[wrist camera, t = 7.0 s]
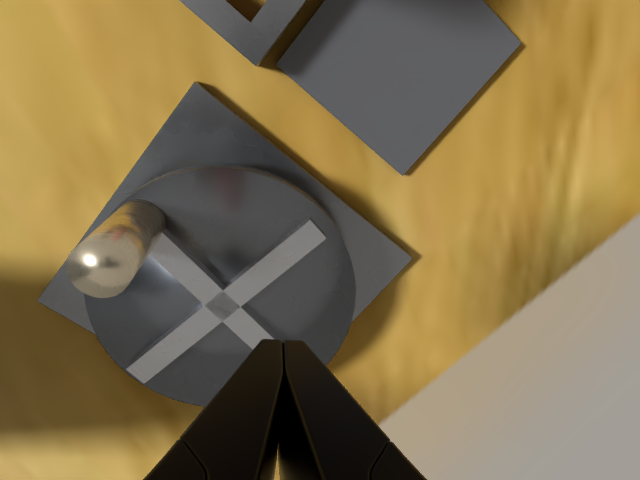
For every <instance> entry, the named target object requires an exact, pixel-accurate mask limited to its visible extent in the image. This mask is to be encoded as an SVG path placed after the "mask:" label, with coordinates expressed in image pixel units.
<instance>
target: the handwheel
mask: <svg viewBox="0 0 640 480" xmlns="http://www.w3.org/2000/svg"><path fill="white" fill-rule="evenodd" d="M66 270H67V274H68V277H69V279H70V281H71V282H72V284H73V285H74V286H75V287H76V288H77V289H78V290H80V291H81V292H83V293H84V299H85V305H86V310H87V313H88V316H89V319H90V323H91V325H92V327H93V330H94V332H95V334H96V336H97V338H98V340H99V341H100V343H101V344H102V346H103V347H104V349H105V350H106V352H107V353H108V354H109V355H110V357H111V358H112V359H113V360H114V361H115V362H116V363H117V365H118V366H120V367H121V368H122V369H123V370H124V371H125V372H126V373H127V374H129V375H130V376H131V377H132V378H134V379H135V380H137V381H138V382H140V383H141V384H142V385H144V386H146V387H148V388H149V389H151V390H153V391H155V392H157V393H159V394H161V395H164V396H166V397H169V398H171V399H174V400H178V401H181V402H185V403H188V404H193V405H199V406H205V407H206V406H207V404H208V403H209V402H210V401H211V400H212V398H213V397H214V396H215V395H216V394H217V392H218V391H219V390H220V389H221V388H222V386H223V385H224V384H225V383H226V382H227V380H228V379H229V378H230V377H231V376H232V374H233V373H234V372H235V371H236V370H237V368H238V367H239V366H240V365H241V364H242V362H243V361H244V360H245V359H246V358H247V356H248V355H249V354H250V353H251V352H252V350H253V349H254V348H255V347H256V346H257V344H258V343H259V342H260V341H261V340H262V339H279V340H281V341H282V343H283V341H285V340H302V341H304V342H305V343H306V344H307V345H308V346H309V347H310V349H311V350H312V351H313V352H314V353H315V354H316V355H317V357H318V358H319V359H320V360H321V361H322V362H323V363H324V365H325V366H326V365H327V364H328V363H329V362H330V360H331V359H332V358H333V356H334V355H335V354H336V352H337V351H338V350H339V348H340V346H341V344H342V343H343V341H344V339H345V337H346V335H347V333H348V330H349V327H350V324H351V322H352V318H353V313H354V309H355V299H356V284H355V274H354V270H353V265H352V261H351V258H350V255H349V253H348V250H347V248H346V245H345V242H344V240H343V237H342V235H341V233H340V232H339V230H338V228H337V226H336V224H335V223H334V221H333V220H332V219H331V217H330V216H329V215H328V213H327V212H326V211H325V209H324V208H323V207H322V206H321V205H320V204H319V203H318V202H317V201H316V200H315V199H314V198H313V197H311V196H310V195H309V194H307V193H306V192H305V191H304V190H302V189H301V188H300V187H298V186H296V185H295V184H293V183H291V182H290V181H288V180H286V179H284V178H282V177H280V176H278V175H275V174H273V173H271V172H268V171H265V170H262V169H258V168H254V167H251V166H246V165H239V164H232V163H207V164H199V165H192V166H188V167H184V168H180V169H175V170H173V171H170V172H168V173H165V174H163V175H160V176H158V177H156V178H154V179H153V180H151V181H149V182H147V183H146V184H144V185H142V186H141V187H140V188H138V189H137V190H136V191H135V192H133V193H132V194H131V195H129V196H128V197H127V198H126V199H125V200H124V201H122V202H121V203H120V204H119V205H118V206H117V207H116V208H115V209H114V211H113V212H112V213H111V214H110V215H109V216H108V217H107V219H106V220H105V221H104V222H103V223H102V224H101V225H100V226H99V227H98V228H97V229H95V230H94V231H93V232H92V233H91V234H90V235H89V236H88V237H87V238H85V239H84V240H83V241H82V242H81V243H80V244H79V245H78V246H77V247H75V248H74V249H73V250H72V251H71V253H70V254H69V256H68V258H67V262H66Z"/></svg>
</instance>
